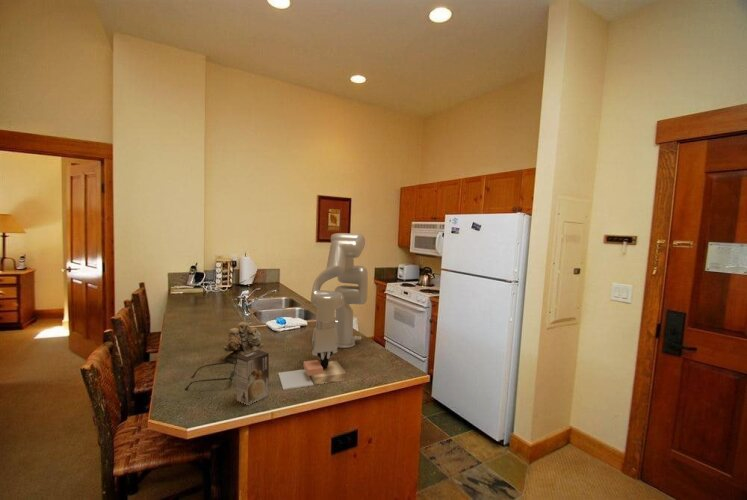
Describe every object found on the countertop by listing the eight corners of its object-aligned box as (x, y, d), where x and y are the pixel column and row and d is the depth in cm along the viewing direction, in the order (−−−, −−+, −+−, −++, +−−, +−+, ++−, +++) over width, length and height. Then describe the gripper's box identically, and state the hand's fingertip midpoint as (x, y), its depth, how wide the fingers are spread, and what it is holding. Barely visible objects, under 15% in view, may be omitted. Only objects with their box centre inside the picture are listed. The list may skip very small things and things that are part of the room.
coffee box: (257, 390, 126) (257, 349, 125) (269, 395, 123) (269, 352, 122) (235, 401, 118) (236, 356, 117) (247, 406, 115) (248, 360, 114)
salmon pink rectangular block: (317, 365, 144) (317, 359, 144) (322, 373, 136) (323, 367, 136) (303, 366, 142) (303, 361, 142) (308, 375, 134) (308, 369, 133)
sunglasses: (192, 375, 138) (192, 363, 138) (237, 371, 143) (237, 360, 143) (182, 394, 122) (182, 381, 122) (232, 389, 127) (232, 377, 127)
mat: (305, 370, 146) (306, 369, 145) (313, 385, 132) (313, 384, 132) (278, 374, 141) (278, 372, 141) (283, 390, 127) (283, 388, 127)
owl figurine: (226, 367, 147) (226, 328, 145) (219, 358, 156) (219, 322, 155) (267, 358, 158) (267, 322, 157) (258, 350, 167) (258, 316, 166)
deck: (336, 366, 150) (336, 360, 150) (345, 380, 137) (346, 373, 137) (307, 370, 145) (307, 364, 145) (314, 385, 132) (314, 377, 132)
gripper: (340, 320, 146) (338, 361, 147) (305, 323, 140) (304, 366, 141) (345, 325, 139) (344, 368, 140) (309, 328, 133) (308, 373, 134)
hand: (324, 367), depth 141 cm, fingers closed
